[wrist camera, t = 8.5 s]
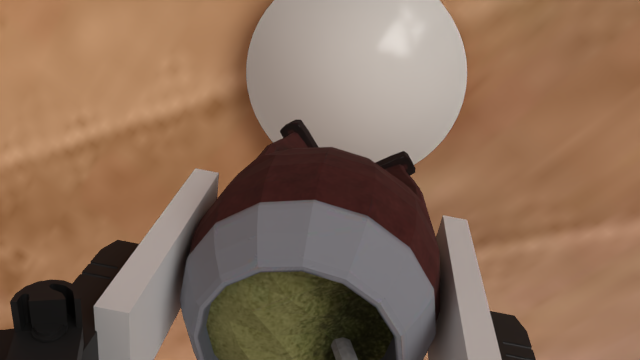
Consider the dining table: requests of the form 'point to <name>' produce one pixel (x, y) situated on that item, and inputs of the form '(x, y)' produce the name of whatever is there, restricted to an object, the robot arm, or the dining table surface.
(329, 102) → the plate low
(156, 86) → the dining table surface
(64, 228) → the dining table surface
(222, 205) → the mate gourd
